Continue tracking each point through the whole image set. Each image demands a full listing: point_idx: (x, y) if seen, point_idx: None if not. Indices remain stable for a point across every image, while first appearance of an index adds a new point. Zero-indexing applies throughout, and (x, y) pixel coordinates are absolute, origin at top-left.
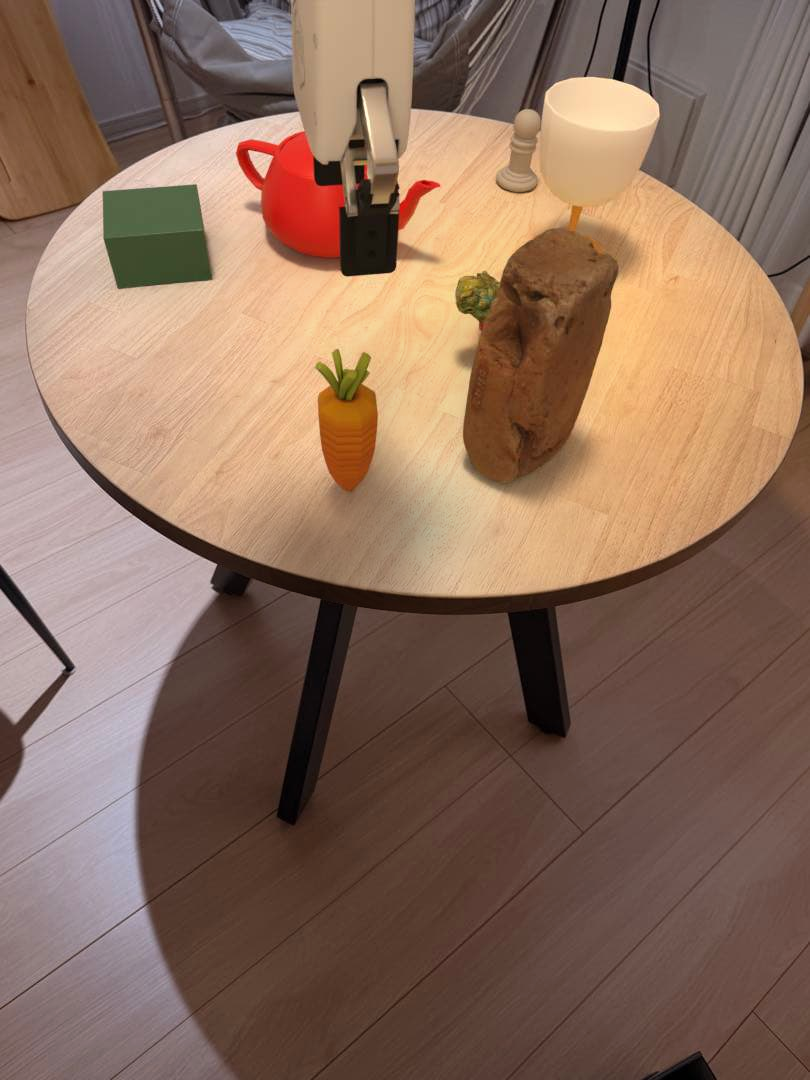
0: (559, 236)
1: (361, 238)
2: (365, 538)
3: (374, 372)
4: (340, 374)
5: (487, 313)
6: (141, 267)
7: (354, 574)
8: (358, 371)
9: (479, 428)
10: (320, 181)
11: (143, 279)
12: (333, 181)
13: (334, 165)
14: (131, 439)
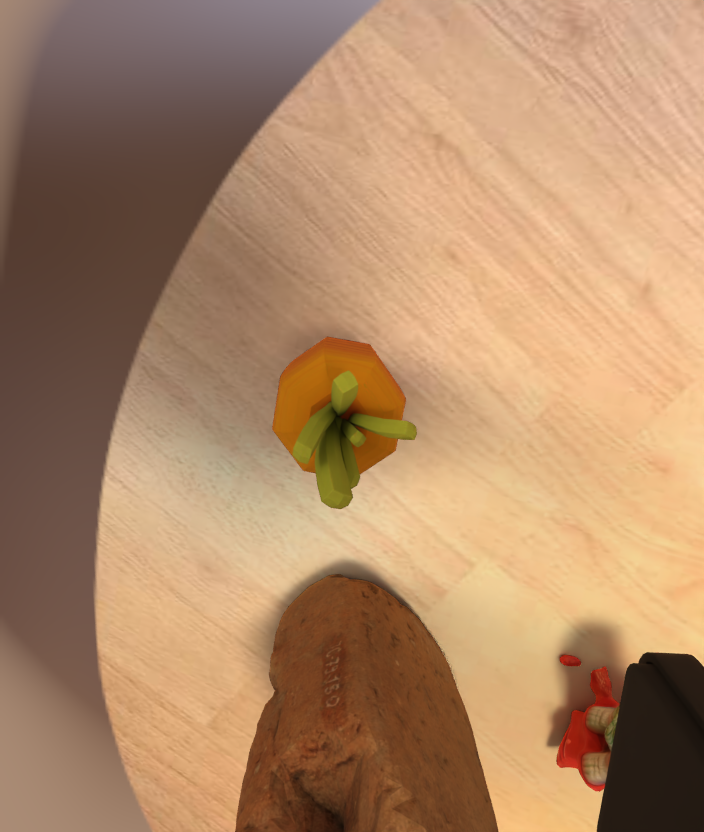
0: None
1: None
2: (232, 368)
3: (610, 477)
4: (360, 423)
5: (609, 733)
6: None
7: (164, 333)
8: (321, 467)
9: (319, 626)
10: (638, 681)
11: None
12: (626, 735)
13: (659, 812)
14: None
